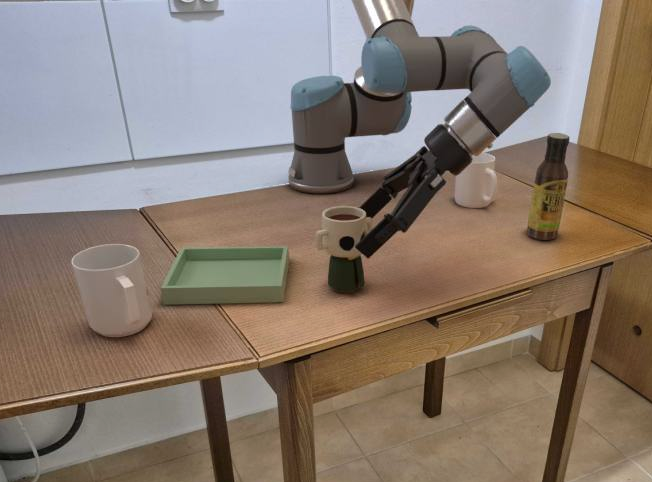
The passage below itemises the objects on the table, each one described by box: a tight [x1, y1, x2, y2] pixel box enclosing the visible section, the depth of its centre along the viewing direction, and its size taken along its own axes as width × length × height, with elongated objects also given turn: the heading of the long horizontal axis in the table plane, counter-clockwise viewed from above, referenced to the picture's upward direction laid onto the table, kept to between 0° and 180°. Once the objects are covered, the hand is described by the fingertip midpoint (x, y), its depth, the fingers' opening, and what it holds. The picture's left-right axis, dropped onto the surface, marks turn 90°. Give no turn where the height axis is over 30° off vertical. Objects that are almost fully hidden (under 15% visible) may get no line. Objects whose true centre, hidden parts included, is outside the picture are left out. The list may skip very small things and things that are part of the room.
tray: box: [160, 245, 290, 306], centre depth 108 cm, size 16×19×3 cm
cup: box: [454, 152, 498, 209], centre depth 141 cm, size 8×12×10 cm
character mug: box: [314, 205, 373, 293], centre depth 105 cm, size 11×7×13 cm, turn 130°
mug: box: [70, 243, 153, 338], centre depth 92 cm, size 12×9×11 cm
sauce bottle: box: [526, 132, 571, 241], centre depth 124 cm, size 6×6×20 cm
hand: (360, 235), depth 103 cm, fingers open, 13 cm apart
